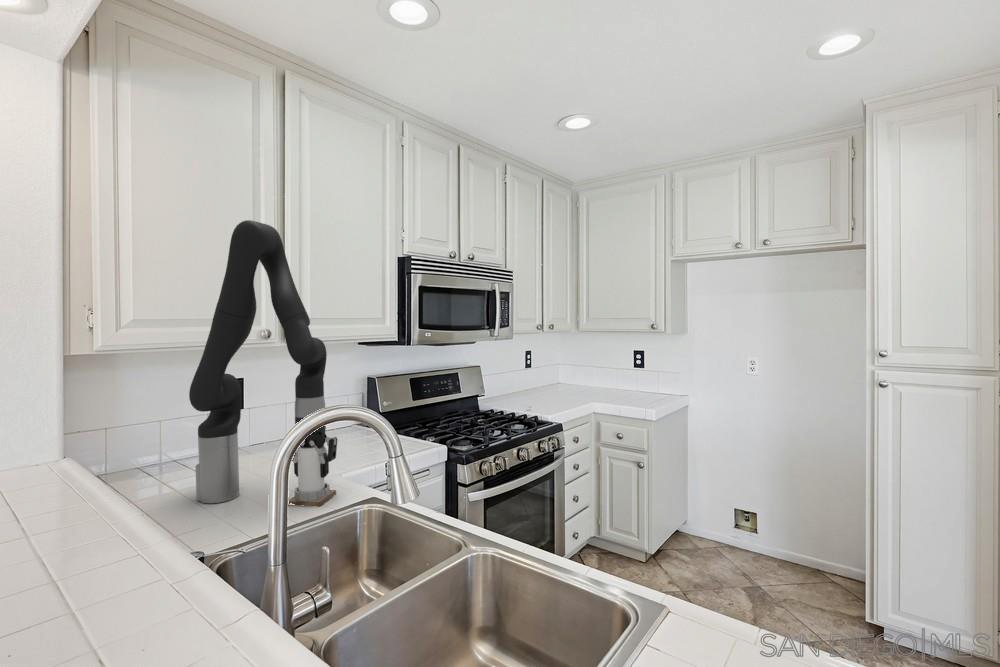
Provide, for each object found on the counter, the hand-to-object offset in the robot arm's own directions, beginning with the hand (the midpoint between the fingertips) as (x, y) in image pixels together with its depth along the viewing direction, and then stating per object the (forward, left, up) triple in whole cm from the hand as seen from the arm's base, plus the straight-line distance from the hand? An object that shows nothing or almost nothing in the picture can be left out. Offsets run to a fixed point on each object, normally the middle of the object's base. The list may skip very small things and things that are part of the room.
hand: (311, 476), depth 129 cm
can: (0, 0, -4) cm, 4 cm away
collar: (0, 0, -5) cm, 5 cm away
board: (0, 0, -6) cm, 6 cm away
